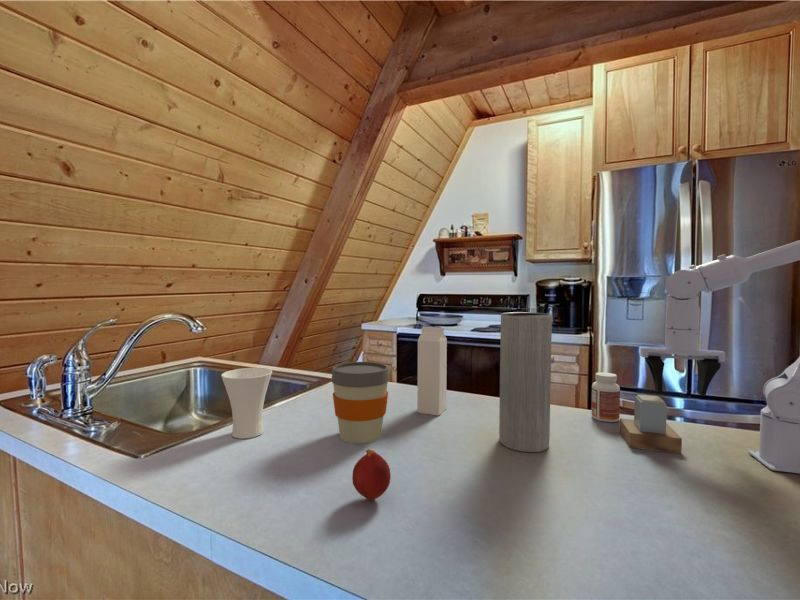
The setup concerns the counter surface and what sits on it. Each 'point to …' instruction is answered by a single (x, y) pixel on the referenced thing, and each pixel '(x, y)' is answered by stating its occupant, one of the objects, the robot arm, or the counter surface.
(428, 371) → the milk
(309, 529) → the counter surface
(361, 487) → the onion
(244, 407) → the cup
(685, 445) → the counter surface
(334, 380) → the reusable coffee cup
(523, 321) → the vase
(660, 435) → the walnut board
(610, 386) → the pill bottle
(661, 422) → the blue block cream face
